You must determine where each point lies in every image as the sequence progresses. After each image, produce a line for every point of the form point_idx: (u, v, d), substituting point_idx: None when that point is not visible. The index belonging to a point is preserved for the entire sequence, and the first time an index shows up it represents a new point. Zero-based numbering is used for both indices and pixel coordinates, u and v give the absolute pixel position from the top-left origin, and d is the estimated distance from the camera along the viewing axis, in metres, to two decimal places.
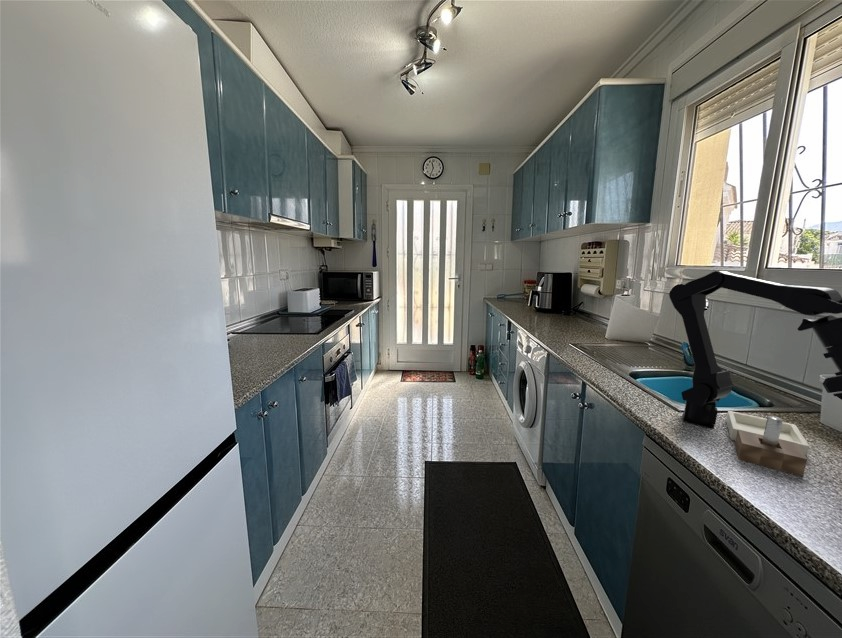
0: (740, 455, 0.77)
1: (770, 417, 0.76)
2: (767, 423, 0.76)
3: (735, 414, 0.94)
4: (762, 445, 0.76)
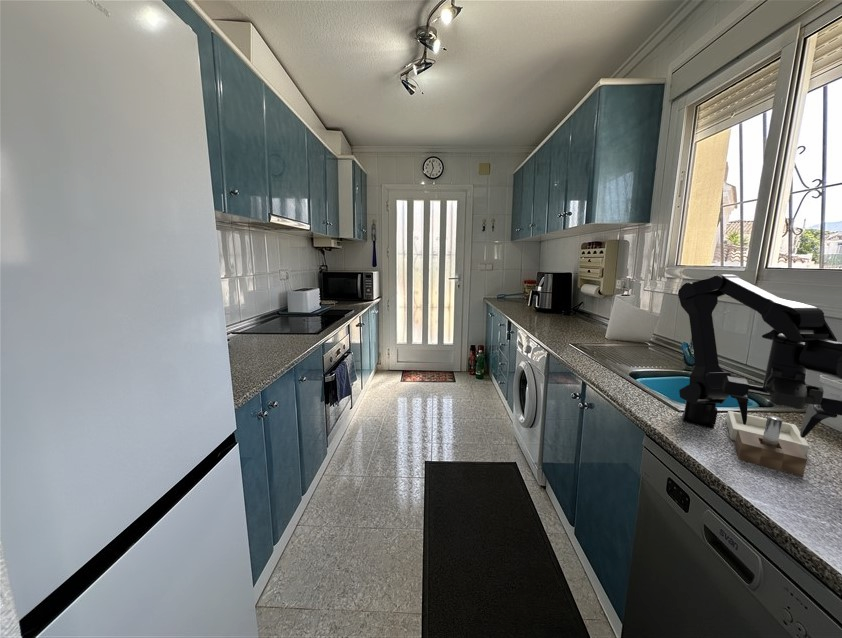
0: (740, 455, 0.77)
1: (770, 417, 0.76)
2: (767, 423, 0.76)
3: (735, 414, 0.94)
4: (762, 445, 0.76)
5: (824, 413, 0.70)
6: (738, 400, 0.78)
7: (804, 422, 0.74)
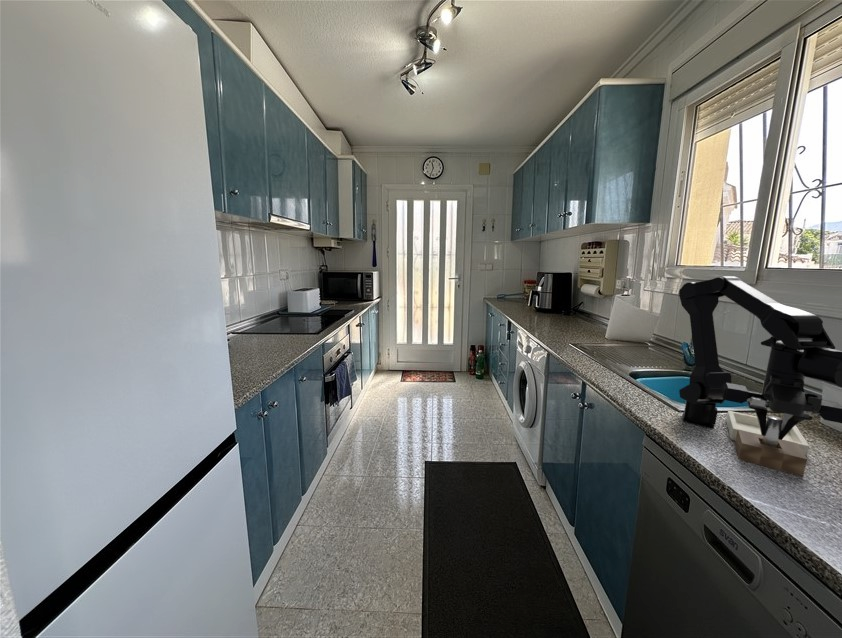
0: (740, 455, 0.77)
1: (770, 417, 0.76)
2: (767, 423, 0.76)
3: (735, 414, 0.94)
4: (762, 445, 0.76)
5: None
6: (757, 411, 0.76)
7: (782, 424, 0.76)
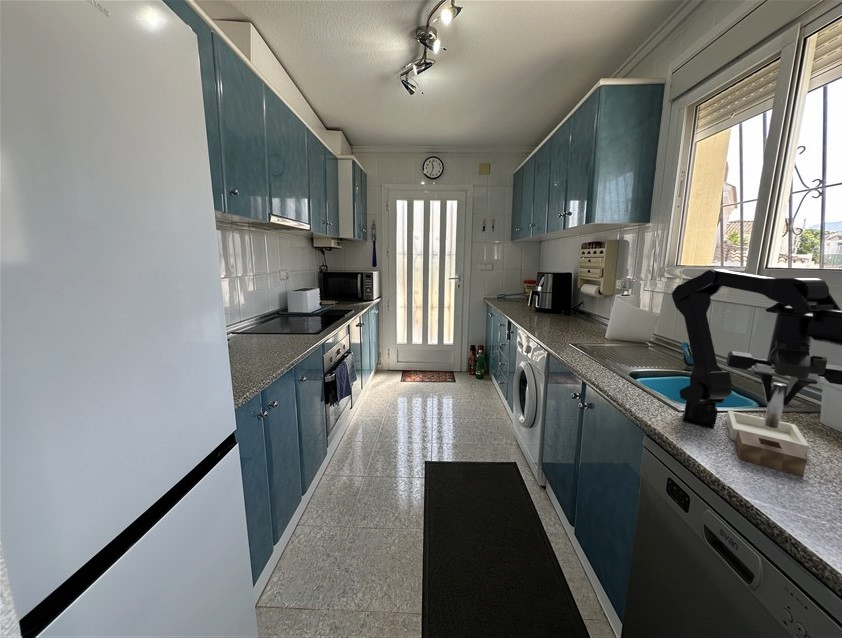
0: (740, 455, 0.77)
1: (775, 383, 0.77)
2: (772, 389, 0.77)
3: (735, 414, 0.94)
4: (762, 445, 0.76)
5: (805, 380, 0.72)
6: (762, 377, 0.76)
7: (787, 390, 0.76)
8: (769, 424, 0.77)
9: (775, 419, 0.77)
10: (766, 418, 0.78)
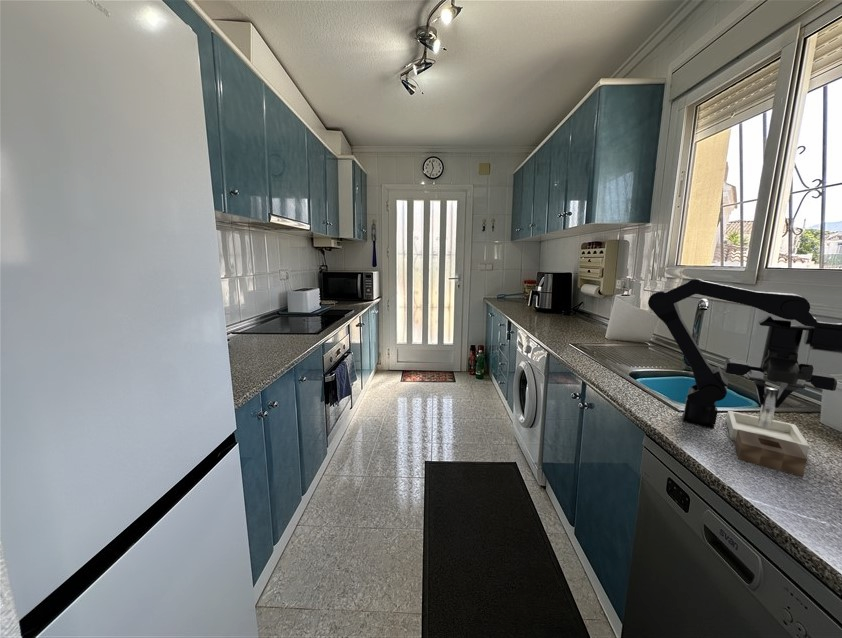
0: (740, 455, 0.77)
1: (768, 388, 0.85)
2: (765, 393, 0.85)
3: (735, 414, 0.94)
4: (762, 445, 0.76)
5: (794, 385, 0.81)
6: (756, 382, 0.85)
7: (778, 394, 0.85)
8: (762, 425, 0.86)
9: (768, 420, 0.85)
10: (760, 419, 0.87)
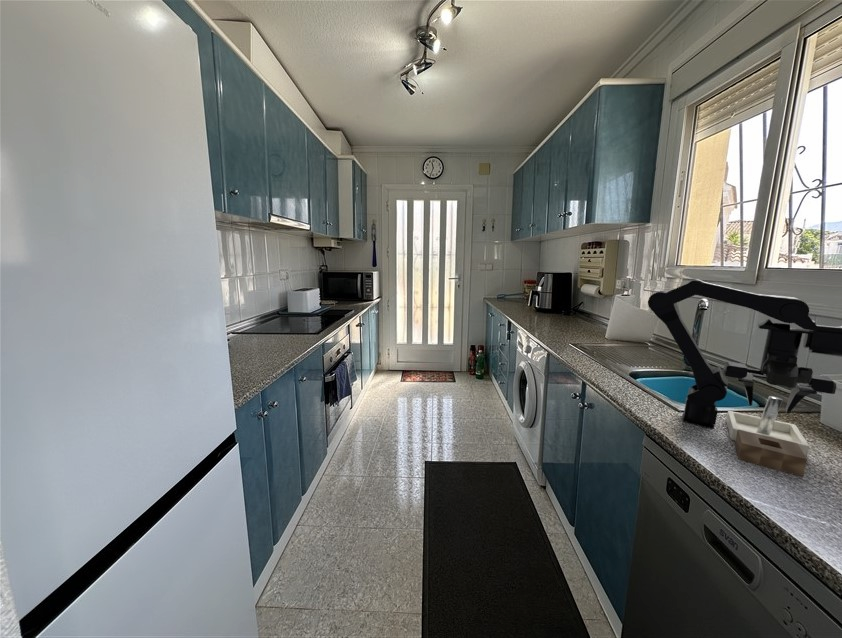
0: (740, 455, 0.77)
1: (771, 397, 0.85)
2: (768, 402, 0.85)
3: (735, 414, 0.94)
4: (762, 445, 0.76)
5: (806, 390, 0.80)
6: (745, 383, 0.86)
7: (789, 399, 0.84)
8: (761, 432, 0.86)
9: (767, 429, 0.86)
10: (759, 427, 0.87)
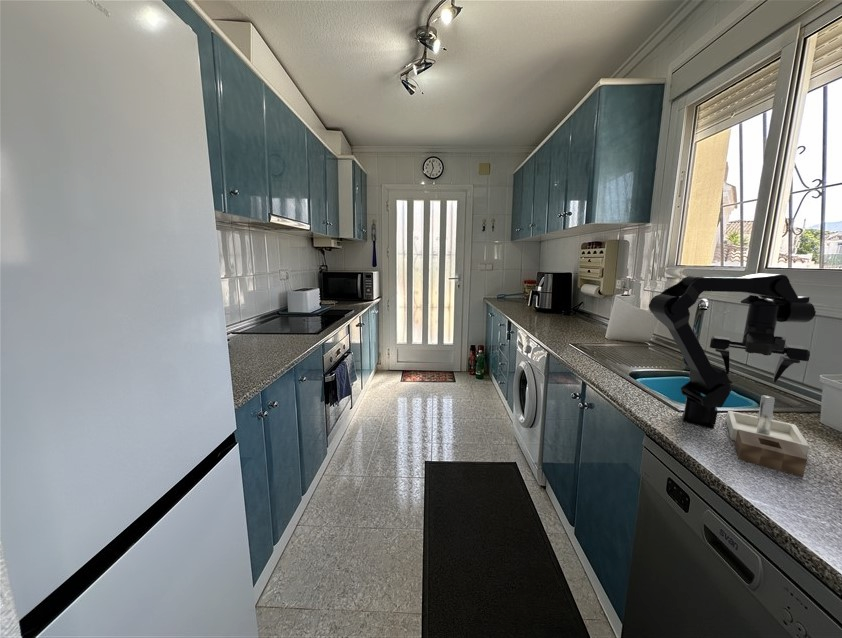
0: (740, 455, 0.77)
1: (763, 396, 0.86)
2: (761, 401, 0.86)
3: (735, 414, 0.94)
4: (762, 445, 0.76)
5: (789, 360, 0.86)
6: (721, 353, 0.94)
7: (776, 370, 0.90)
8: (761, 433, 0.86)
9: (766, 429, 0.86)
10: (758, 427, 0.87)
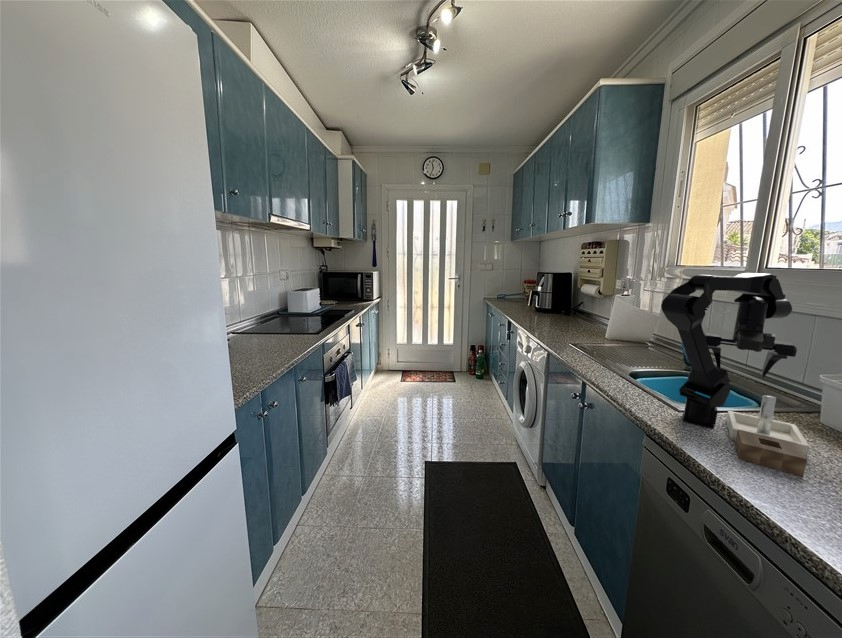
0: (740, 455, 0.77)
1: (765, 395, 0.86)
2: (763, 401, 0.86)
3: (735, 414, 0.94)
4: (762, 445, 0.76)
5: (778, 355, 0.90)
6: (713, 350, 0.98)
7: (764, 365, 0.94)
8: (761, 432, 0.86)
9: (766, 428, 0.86)
10: (758, 427, 0.87)
